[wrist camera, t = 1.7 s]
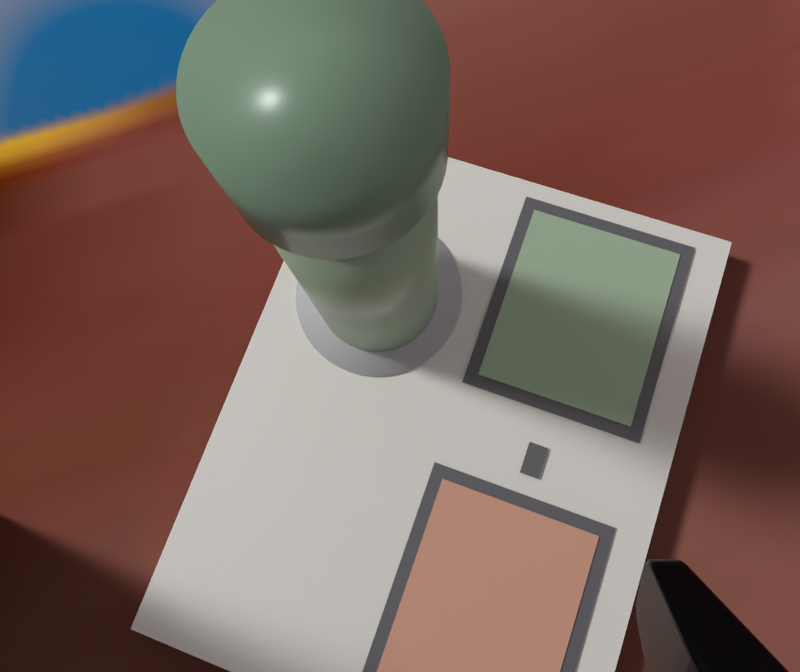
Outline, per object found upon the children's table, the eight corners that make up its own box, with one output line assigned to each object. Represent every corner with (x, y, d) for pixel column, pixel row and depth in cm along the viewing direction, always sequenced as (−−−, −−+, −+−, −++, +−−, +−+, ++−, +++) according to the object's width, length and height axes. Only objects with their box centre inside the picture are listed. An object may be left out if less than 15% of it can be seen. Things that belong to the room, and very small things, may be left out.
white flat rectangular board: (568, 801, 20) (575, 819, 18) (144, 623, 21) (128, 629, 20) (719, 252, 23) (733, 241, 22) (344, 138, 25) (339, 123, 24)
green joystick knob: (418, 376, 22) (393, 240, 10) (293, 332, 22) (131, 155, 10) (461, 254, 22) (486, -3, 11) (340, 215, 23) (239, -69, 11)
